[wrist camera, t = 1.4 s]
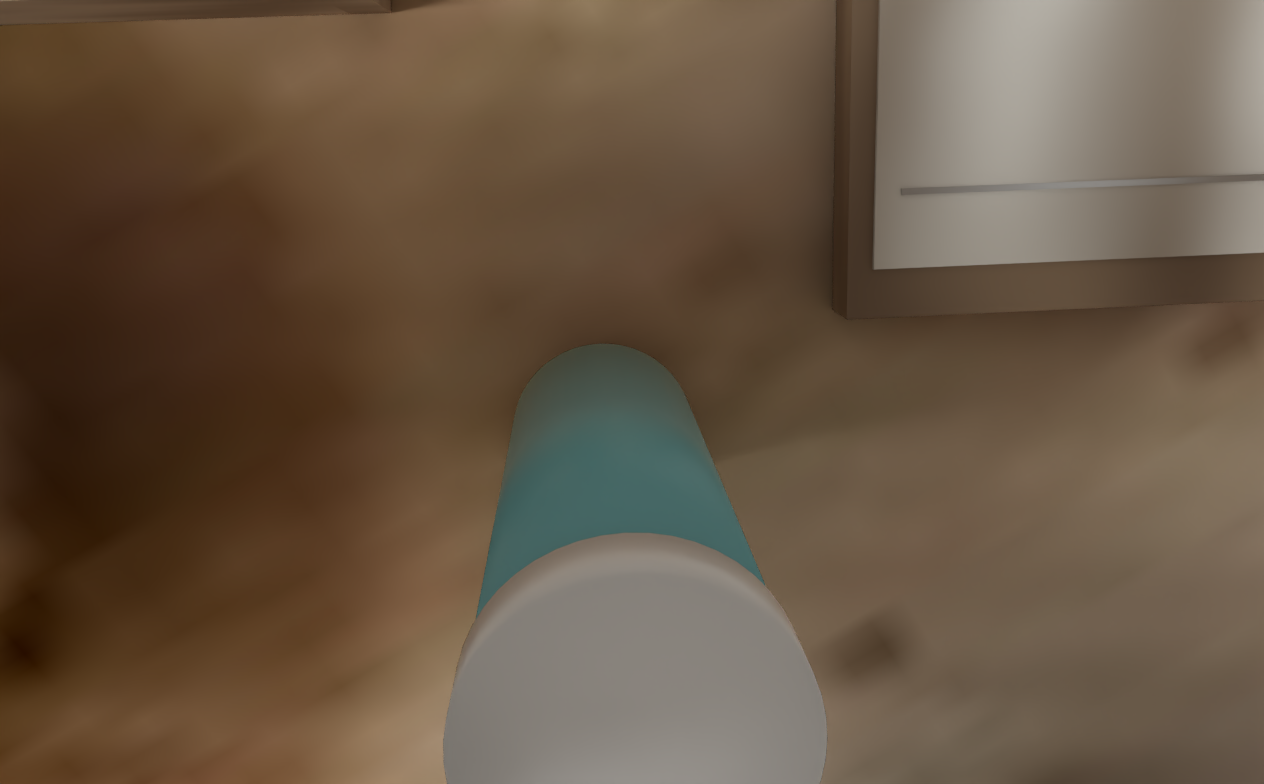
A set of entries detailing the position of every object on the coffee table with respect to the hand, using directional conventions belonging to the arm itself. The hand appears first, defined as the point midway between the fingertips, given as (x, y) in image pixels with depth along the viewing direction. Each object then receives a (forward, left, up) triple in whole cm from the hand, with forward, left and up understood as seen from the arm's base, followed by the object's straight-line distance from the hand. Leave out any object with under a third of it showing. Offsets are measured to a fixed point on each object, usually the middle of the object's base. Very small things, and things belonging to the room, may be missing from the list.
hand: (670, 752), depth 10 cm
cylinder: (0, 0, -13) cm, 13 cm away
